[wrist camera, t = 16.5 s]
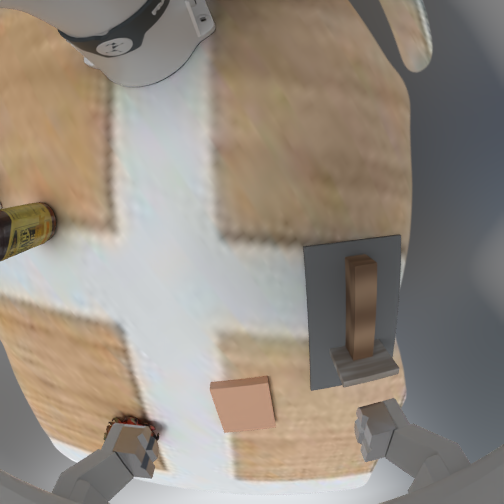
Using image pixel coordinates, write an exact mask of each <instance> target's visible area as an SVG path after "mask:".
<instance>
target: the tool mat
mask: <svg viewBox="0 0 504 504" xmlns="http://www.w3.org/2000/svg"><path fill="white" fill-rule="evenodd" d="M303 249H304V262H305V276H306V291H307V308H308V327H309V352H310V389H311V391H313V390H318V389H324V388H329V387H335V386H340V385H342V383H341V380H340V378H339V376H338V373H337V371H336V368H335V366H334V364H333V361H332V359H331V357H330V354H329V349H331V348H337V347H342V346H345V340H346V280H345V257H348V256H355V255H362V254H366V255H367V256H369V257H370V258H371V259H373V260H374V261H375V262H377V301H376V321H375V336H374V340H375V339H379V340H380V342H381V343H382V344H383V346H384V347H385V349H386V350H387V351H388V353H389V354H390V356H391V357H392V356H393V349H394V342H395V333H396V324H397V313H398V302H399V288H400V267H401V235H392V236H384V237H376V238H368V239H360V240H352V241H344V242H336V243H328V244H320V245H312V246H304V247H303Z"/></svg>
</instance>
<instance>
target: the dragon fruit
mask: <svg viewBox="0 0 504 504" xmlns="http://www.w3.org/2000/svg"><path fill="white" fill-rule="evenodd" d="M113 420H115V422H116V423H120V424H129V425H139V426H149V427H150V430H151V431H152V430H155V427H153V426H151V425H150V424H148V423H143V424H144V425H142V424H139V420H138V419H137V418H133V417H126V418H125V419H124V420H123V421H120V420H119V419H118V418H113V419H112V421H113ZM109 423H110V424H111V425H113V424H114V422H109ZM109 423H108V424H109ZM111 427H112V426H110V425H108V426H107V428H106V430H107V433H104V434H105V435H104V440H106V438H107V436H108V433H109V431H110V429H111ZM151 436H152V437H154V438H155V439H156V441H157V440H158V439H159V433H158V434H157V436H156V435H155V434H154V433H153V432H152V433H151Z"/></svg>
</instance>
